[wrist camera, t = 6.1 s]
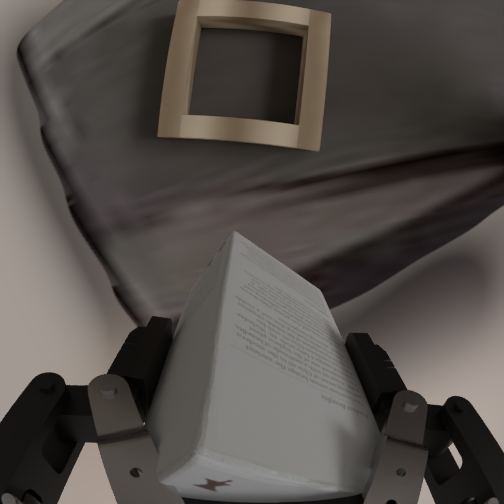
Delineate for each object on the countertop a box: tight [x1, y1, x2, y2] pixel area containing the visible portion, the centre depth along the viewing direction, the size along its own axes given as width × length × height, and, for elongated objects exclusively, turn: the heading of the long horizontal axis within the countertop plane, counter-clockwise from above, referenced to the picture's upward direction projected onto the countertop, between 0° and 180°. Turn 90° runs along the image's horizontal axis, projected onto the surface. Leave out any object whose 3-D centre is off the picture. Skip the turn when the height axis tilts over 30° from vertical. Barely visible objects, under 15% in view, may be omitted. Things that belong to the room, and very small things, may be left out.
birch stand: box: [157, 0, 331, 151], centre depth 23 cm, size 14×14×3 cm
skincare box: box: [144, 231, 380, 503], centre depth 10 cm, size 6×4×12 cm
